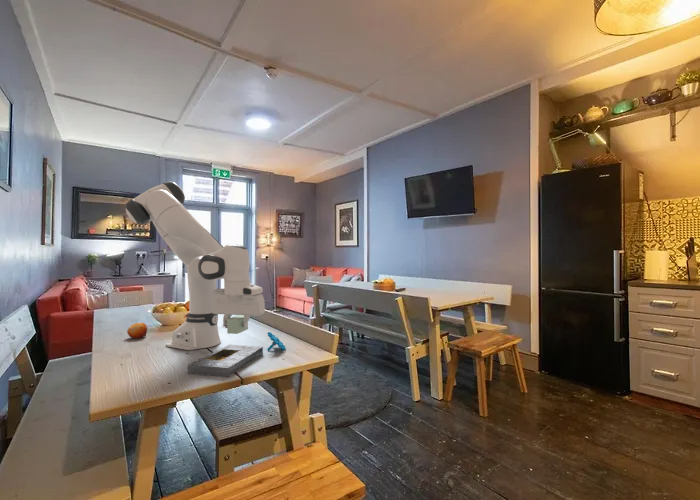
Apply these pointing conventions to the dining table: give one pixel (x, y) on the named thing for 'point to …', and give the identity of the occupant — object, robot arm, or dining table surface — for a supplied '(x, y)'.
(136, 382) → the dining table surface
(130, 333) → the fruit
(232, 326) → the block
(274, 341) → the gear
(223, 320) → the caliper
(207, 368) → the pocket plate
